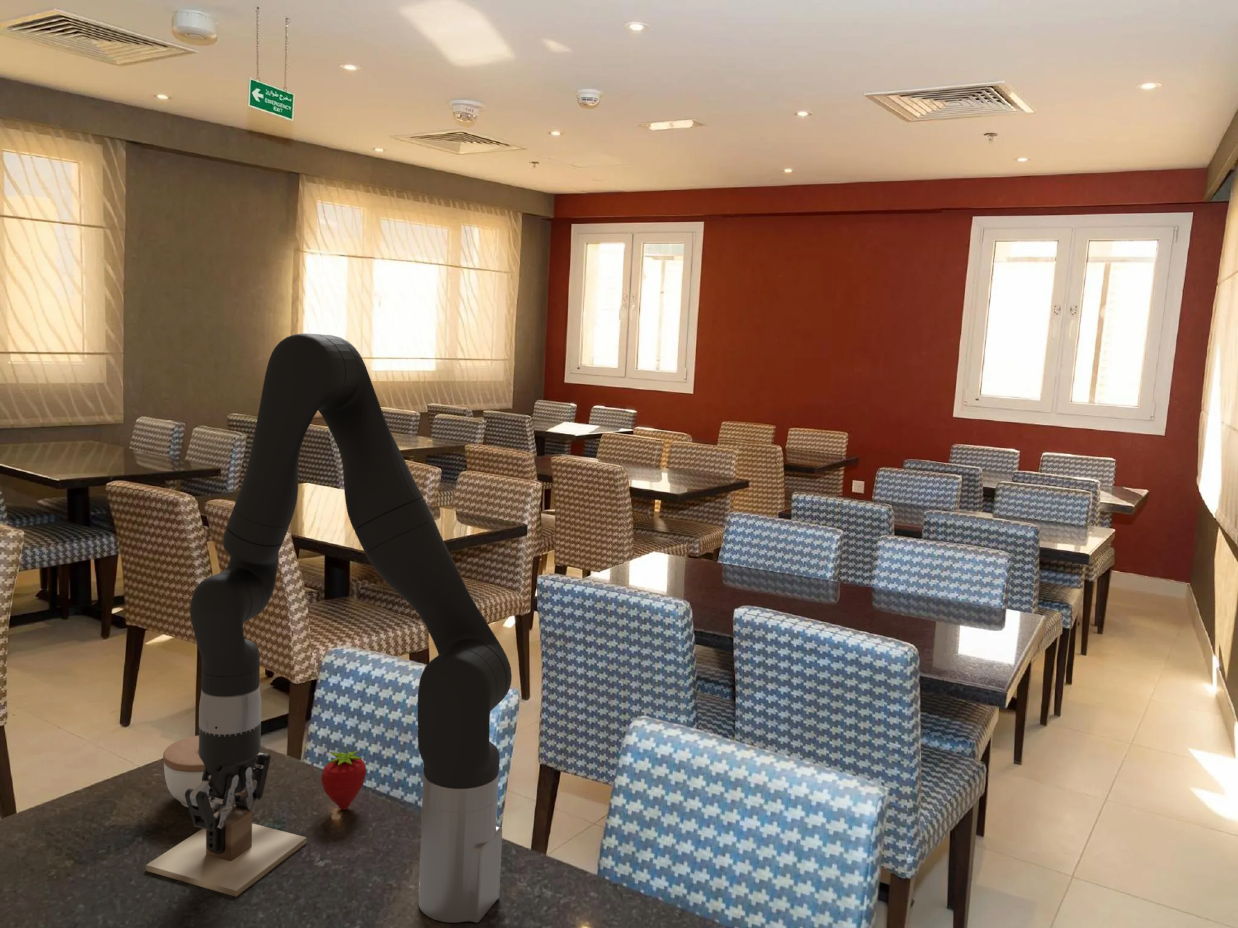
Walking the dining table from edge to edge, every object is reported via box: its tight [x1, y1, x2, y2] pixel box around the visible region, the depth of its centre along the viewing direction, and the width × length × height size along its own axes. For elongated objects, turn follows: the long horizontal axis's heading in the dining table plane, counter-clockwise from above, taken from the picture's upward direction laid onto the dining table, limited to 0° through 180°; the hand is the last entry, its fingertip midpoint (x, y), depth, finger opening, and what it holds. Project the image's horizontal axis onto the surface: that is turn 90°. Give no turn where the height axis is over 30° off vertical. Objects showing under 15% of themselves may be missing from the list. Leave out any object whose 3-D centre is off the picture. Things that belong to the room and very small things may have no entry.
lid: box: [145, 806, 307, 898], centre depth 129 cm, size 14×14×6 cm
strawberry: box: [320, 742, 367, 810], centre depth 142 cm, size 6×8×10 cm
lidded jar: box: [162, 734, 224, 808], centre depth 143 cm, size 11×11×9 cm
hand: (229, 842), depth 129 cm, fingers closed on lid, 4 cm apart
